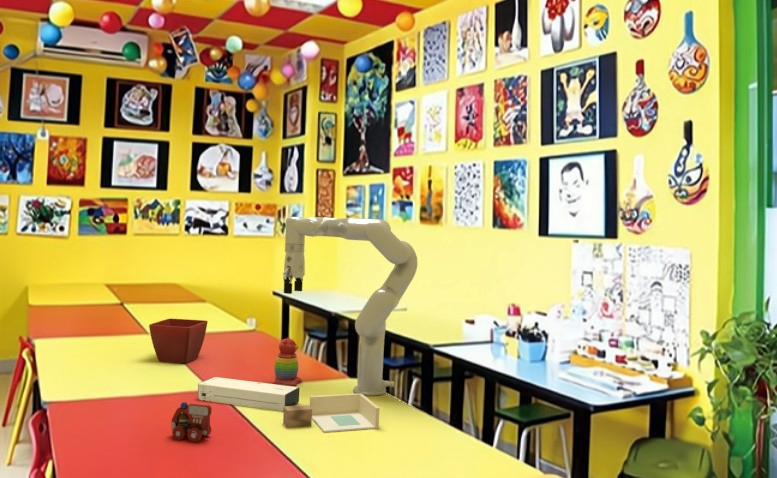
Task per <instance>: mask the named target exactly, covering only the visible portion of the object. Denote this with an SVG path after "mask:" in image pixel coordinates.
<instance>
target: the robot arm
mask: <svg viewBox="0 0 777 478" xmlns="http://www.w3.org/2000/svg"><path fill="white" fill-rule="evenodd" d="M390 225H391V224H389V222H388V221H387V220H384V219H382V218H381V219H380V218H379V219H378V218H363V217H362V218H361V217H344V218H339V217H320V216H319V217H318V216H312V217H311V216H310V217H302V216H288V217H286V219H285V234H284V235H285V239H284V240H285V241H284V252H285V257H284V265H283V266H284V267H283V272H282V276H283V294H288V295H291V294H293V288H294V291H295V292H302V291H303V281H304V277H305V274H306V269H305V267H306V266H305V263H306V262H305V241H306V240H305V238H306V236H307V237H312V238H313V237H330V238H331V237H332V238H342V239H345V240H350V241H366V242H369V243H371V245H373V246H374V248H375V249H376V250H377V251H378V252H379V253H380V254H381V255H382V256H383V257H384V258H385V260H387V261H388V262H389V263H391V264H393V265H394V266H393V268H392V270H391V271H390V273H389V274H388V277H387V278H386V279H385V281H384V282H383V284H382V286H380V287H379V288H378V289H376V290H374V291H373V292H372V294H371V295H370V297H369V299H368V300H367V302H366V303H365V304H364V306H363V308H362V309H361V311H360V313H359V314H358V315H357V317H356V319H355V322H354V328H355V329H354V330H355V332H356V333H357V335H358V336H359V342H358V361H357V363H358V364H357V385H355V386H353V388H352V392H353V393H354V394H357V393H362V394H363V395H364V396H368V397H369V396H382V395H384V394H386V392H387V387H389V388H390V387H394V386H395V382H394V381H389V380H384V379H383V372H384V371H383V370H384V369H383V368H384V350H385V348H384V347H385V335H386V328H387V326H386V325H387V323H386V321H387V319H388V318H389V317H390V316H391V315H390V314H391V313H392V311H393V310H394V309H396V308H397V307H398V305H399V303H400V301H401V299H402V297H403V296H404V294H405V293H406V291H407V289H408V288H409V285H410V284H411V283H412V281H413V279H414V277H415V275H416V274H417V273H416V272H417V270H418V256H417V254H416V251H415V249H414V248H413V246H412V245H411V244H410V243H409V242H407V241H405V240H400V238H398V237H397V235H395V234H394V233H393V231H392V230H391V229H392V228H391V226H390ZM293 279H295V280H294V287H293V283H292V281H293Z"/></svg>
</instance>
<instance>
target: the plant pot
mask: <svg viewBox="0 0 777 478" xmlns="http://www.w3.org/2000/svg"><path fill="white" fill-rule="evenodd" d="M207 327H208V320H202V319H185V318H166V319H162V320H159V321H156V322H153V323H149V326H148V328H149V334H150V338H151V342H152V346H153V349H154V352H155V355H156V358H157V360H158V362H160V363H173V364H187V363H189V362H191V361H193V360H195V359H198V358H199V355H200V352H201V349H202V347H203V343H204V340H205V337H206V332H207Z"/></svg>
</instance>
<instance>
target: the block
mask: <svg viewBox="0 0 777 478" xmlns="http://www.w3.org/2000/svg"><path fill="white" fill-rule="evenodd" d="M312 421H313V420H312V409H311V408H310V404H309V405H308V404H303V405H301V404H300V405H293V406H284V411H283V421H282V424H283V425H284V426H285V428H286V429H288V428H289V429H291V428H303V427H312Z"/></svg>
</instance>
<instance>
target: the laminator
mask: <svg viewBox="0 0 777 478" xmlns="http://www.w3.org/2000/svg"><path fill="white" fill-rule="evenodd" d="M197 399H198V400H199V401H203V400H205V402H210V401H211V402H212V403H218V404H226V405H235V406H242V407H247V406H248V407H247V408H249V407H250V408H256V409H263V410H270V411H271V410H272V411H279V412H284V406H296V404H298V403H299V402H300V387H297V386H295V387H292V386H284V385H276V384H275V383H274V384H273V383H267V382H260V381H258V382H257V381H249V380H242V379H233V378H225V377H217V376H214V377H210V378H209V379H206V380H204V381H201V382H199V383H198V384H197ZM211 402H210V403H211Z"/></svg>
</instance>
